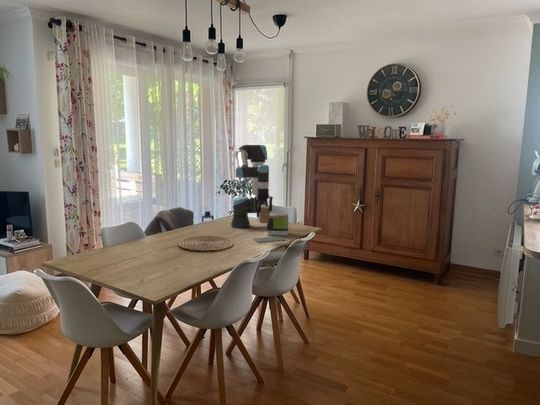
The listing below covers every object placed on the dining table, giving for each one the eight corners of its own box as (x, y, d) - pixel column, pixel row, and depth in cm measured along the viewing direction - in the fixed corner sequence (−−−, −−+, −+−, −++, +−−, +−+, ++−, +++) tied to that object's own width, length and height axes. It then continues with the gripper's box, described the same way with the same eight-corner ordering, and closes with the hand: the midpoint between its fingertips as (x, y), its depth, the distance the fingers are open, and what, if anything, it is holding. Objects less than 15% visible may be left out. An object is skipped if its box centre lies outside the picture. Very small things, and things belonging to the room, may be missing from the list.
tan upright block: (257, 220, 275) (257, 205, 273) (264, 220, 277) (264, 204, 275) (261, 223, 267) (261, 207, 265) (268, 223, 268) (268, 207, 267)
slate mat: (253, 239, 277) (253, 238, 277) (279, 237, 284) (279, 236, 284) (258, 242, 267) (258, 242, 267) (285, 240, 275) (285, 239, 275)
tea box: (288, 232, 297) (288, 213, 295) (287, 236, 287) (287, 216, 285) (268, 232, 299) (268, 212, 296) (266, 235, 289) (266, 215, 286)
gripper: (252, 189, 261) (252, 223, 265) (277, 188, 268) (277, 221, 272) (248, 187, 268) (248, 221, 272) (273, 186, 275) (273, 219, 278)
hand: (262, 221), depth 272 cm, fingers closed on tan upright block, 5 cm apart
